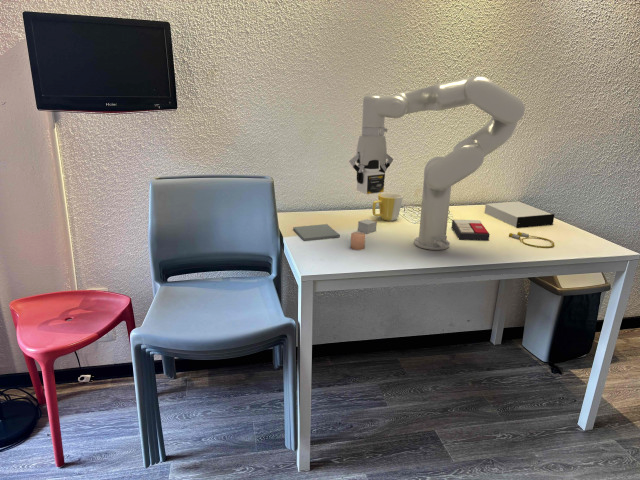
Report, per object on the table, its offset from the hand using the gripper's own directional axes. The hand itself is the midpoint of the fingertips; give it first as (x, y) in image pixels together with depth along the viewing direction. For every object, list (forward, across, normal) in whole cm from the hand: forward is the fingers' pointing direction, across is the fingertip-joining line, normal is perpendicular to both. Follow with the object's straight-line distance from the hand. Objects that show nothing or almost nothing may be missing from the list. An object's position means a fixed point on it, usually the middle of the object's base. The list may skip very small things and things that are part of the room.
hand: (370, 182), depth 176 cm
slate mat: (+22, +16, -12) cm, 30 cm away
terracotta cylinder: (+22, +7, +7) cm, 24 cm away
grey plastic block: (+22, -4, -9) cm, 24 cm away
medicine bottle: (+4, 0, 0) cm, 4 cm away
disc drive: (+23, -73, -6) cm, 77 cm away
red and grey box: (+23, -41, +6) cm, 47 cm away
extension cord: (+23, -59, +20) cm, 66 cm away
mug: (+22, -18, -21) cm, 35 cm away
